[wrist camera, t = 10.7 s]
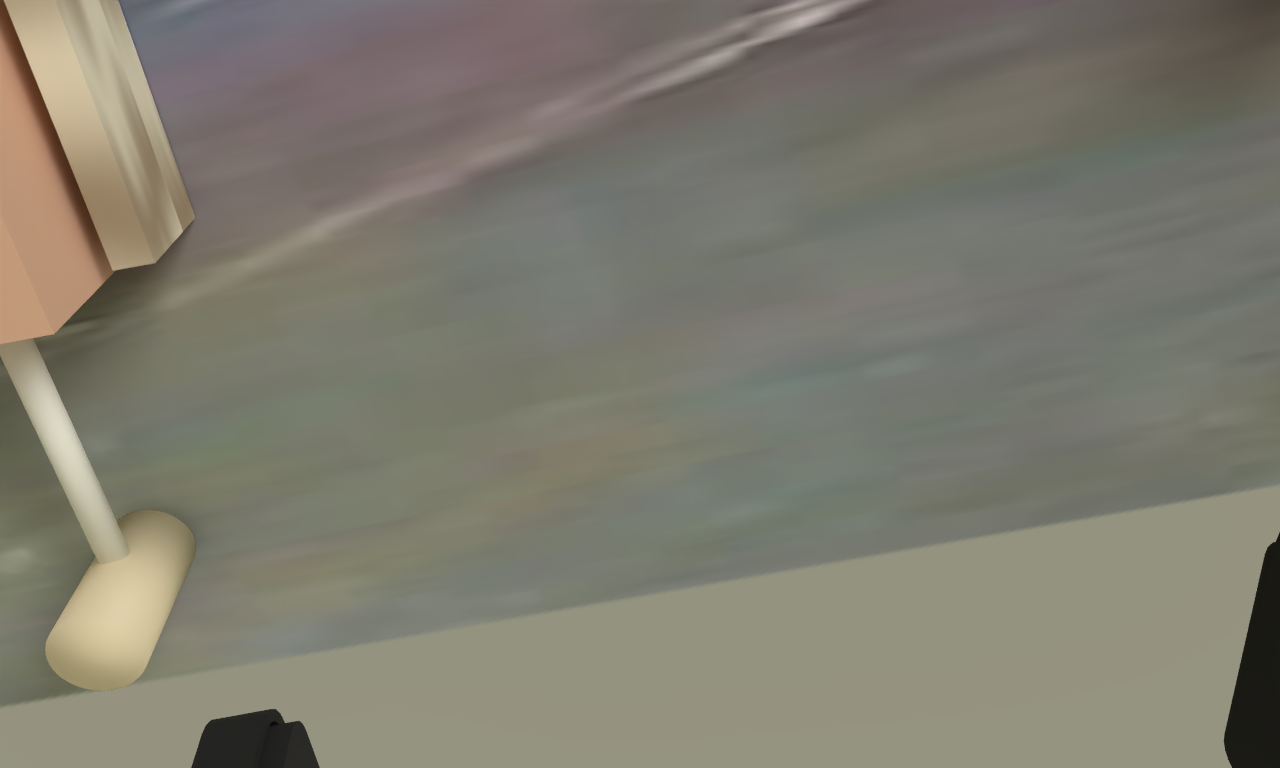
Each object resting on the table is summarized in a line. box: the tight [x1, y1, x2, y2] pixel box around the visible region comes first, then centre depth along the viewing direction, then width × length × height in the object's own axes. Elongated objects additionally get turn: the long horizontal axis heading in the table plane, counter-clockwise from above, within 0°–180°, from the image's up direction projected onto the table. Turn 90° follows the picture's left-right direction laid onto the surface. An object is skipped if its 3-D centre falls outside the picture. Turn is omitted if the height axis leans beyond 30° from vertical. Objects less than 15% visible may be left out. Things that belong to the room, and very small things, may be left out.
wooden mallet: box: [0, 0, 196, 691], centre depth 30 cm, size 20×7×7 cm, turn 8°
